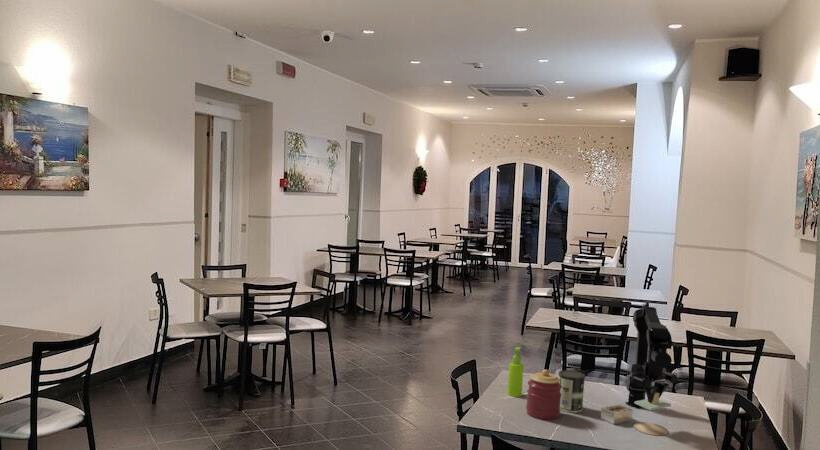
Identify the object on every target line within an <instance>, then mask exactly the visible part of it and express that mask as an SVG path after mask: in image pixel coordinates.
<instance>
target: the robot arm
mask: <svg viewBox="0 0 820 450" xmlns="http://www.w3.org/2000/svg"><path fill="white" fill-rule="evenodd" d="M632 322H633V325H634V327H635V329H636V331H637V333H636V334H637V335H636V346H635V347H636V348H635V360H634V363H633V364H632V365H631V369H630V372H629V373H630V374H629V376H628V378H627V381H626V383H625V384H626V385H625V386H626V387H625V388H626V390H627V391H628V392H629V393H628V399H627V400H628V401H626V402H625V405H628V406H631V407H632V408H636V409H642V408H643V407H641V406H639V405H637V404H634V402H635V401H640V400H645V399H647V398H648V402H649V403H652V400H653V398H654V395H655V392H658V393H659V399H660V398H661V397H662V395H663V393H664V392H665V391H666V389H667V388H668V387H669V386H670V384H669V383H667V381H669V382H670V383H671V384H676V383H678V376H677V374H675V373H672V372H668V371H665V369H666V368H669V367H670V366H671V364H672V362H673V360H672V357H671V355H670V354H669V353H668V350H672V346H673V339H672V334H671V332H670V331H669V329H668V327H667V326H666V325H664V324H662V323H661V321H660V318H659V316H658V312H657V308H656V307H653V306H642V307H641V308H639V309H637V310H635V311H634V312H633V316H632ZM646 397H647V398H646Z"/></svg>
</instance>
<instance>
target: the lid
mask: <svg viewBox="0 0 820 450" xmlns="http://www.w3.org/2000/svg"><path fill="white" fill-rule="evenodd" d="M634 404H637V405H639V406H641V407H643V408H644V409H646V410H649V411H654V410H658V409H660V410H661V409H664V408H670V407H672V404H671V403H670V402H666V401H664V400H661V399H660V398H659V393H658V392H655V395H654V398H653V400H652V403H649V402H648V398H645V400H640V401H635V402H634Z"/></svg>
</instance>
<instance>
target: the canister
mask: <svg viewBox="0 0 820 450" xmlns="http://www.w3.org/2000/svg"><path fill="white" fill-rule="evenodd" d="M529 378H530V380H528V381H527V385H528V389H527V390H526V392H527V395H526V396H527V397H526V405H525V409H526V410H525V411H526V414H527V415H529V416H530V417H532V418H535V419H539V420H556V419H558V418H559V416H560V414H561V410H560V399H561V393H560V389H561V388H562V385H561V384H560V383H559V382H560V379H559V376H557V375H555V374H554V373H551V372H550V371H549V370H548V369H543V370H542V371H541V372H539V371H538V372H535V373H533V374H531V375H530V377H529Z"/></svg>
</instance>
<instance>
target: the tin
mask: <svg viewBox="0 0 820 450" xmlns="http://www.w3.org/2000/svg"><path fill="white" fill-rule="evenodd" d="M633 412H634V410H633V409H632V408H629V407H627V406H624V405H622V404H613V405H609V406H603V407H601V408H600V420H603V421H605V422H607V423H608V424H611V425H612V426H614V425H620V424H621V425H622V424H625V423H630V422H633Z"/></svg>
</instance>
